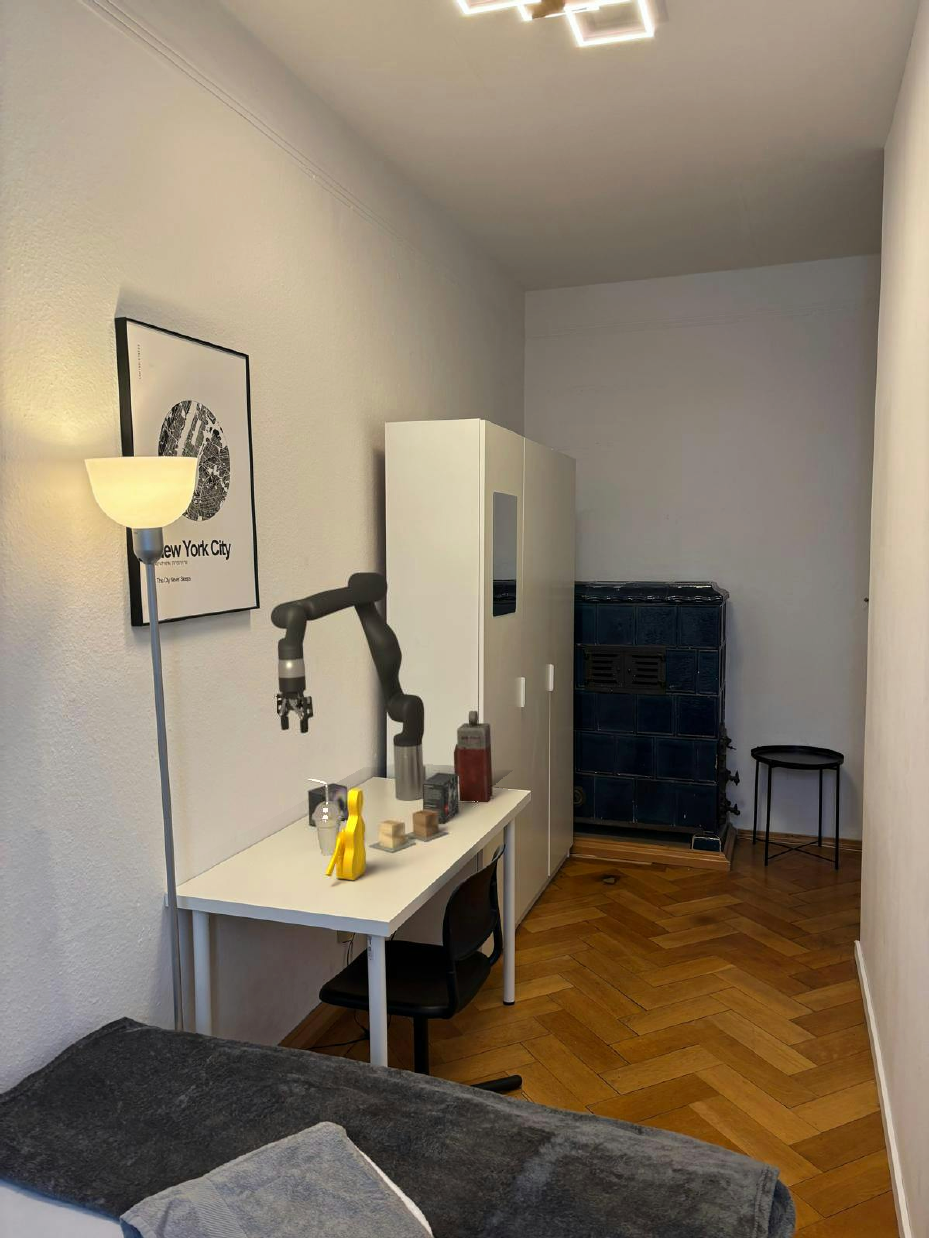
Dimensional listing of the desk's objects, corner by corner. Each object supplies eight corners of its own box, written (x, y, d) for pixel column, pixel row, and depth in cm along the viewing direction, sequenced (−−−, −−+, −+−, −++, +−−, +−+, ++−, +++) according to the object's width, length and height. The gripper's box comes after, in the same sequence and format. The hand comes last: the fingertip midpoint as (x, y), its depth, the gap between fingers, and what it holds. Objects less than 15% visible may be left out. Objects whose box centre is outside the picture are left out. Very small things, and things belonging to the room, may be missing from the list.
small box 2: (444, 824, 276) (443, 783, 275) (422, 823, 278) (421, 782, 277) (459, 812, 289) (458, 773, 288) (438, 810, 291) (436, 771, 290)
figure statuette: (353, 863, 245) (349, 779, 243) (381, 866, 242) (377, 780, 241) (319, 887, 229) (315, 797, 227) (348, 890, 226) (344, 799, 224)
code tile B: (393, 838, 265) (393, 836, 265) (416, 844, 259) (416, 842, 259) (369, 846, 258) (369, 845, 258) (392, 852, 252) (392, 851, 252)
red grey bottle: (458, 794, 309) (455, 708, 306) (492, 794, 306) (489, 708, 304) (452, 801, 300) (448, 713, 298) (487, 802, 297) (484, 713, 295)
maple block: (392, 840, 262) (391, 818, 262) (405, 843, 259) (404, 821, 258) (379, 844, 258) (378, 823, 258) (392, 848, 255) (391, 826, 255)
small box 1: (323, 829, 276) (322, 793, 275) (308, 825, 280) (306, 790, 279) (349, 819, 284) (347, 785, 284) (333, 816, 288) (332, 782, 287)
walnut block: (425, 829, 270) (424, 809, 270) (438, 832, 267) (437, 811, 267) (413, 834, 267) (412, 813, 266) (426, 837, 263) (425, 816, 263)
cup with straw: (327, 859, 249) (323, 784, 247) (305, 853, 255) (301, 779, 253) (352, 851, 255) (348, 777, 253) (330, 844, 261) (326, 772, 259)
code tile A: (425, 828, 273) (425, 826, 273) (448, 833, 267) (448, 832, 267) (403, 836, 267) (403, 834, 267) (426, 841, 261) (426, 840, 261)
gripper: (318, 674, 268) (321, 731, 270) (286, 671, 278) (289, 726, 279) (297, 678, 263) (300, 736, 264) (265, 674, 272) (268, 730, 273)
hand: (294, 731), depth 271 cm, fingers open, 8 cm apart
